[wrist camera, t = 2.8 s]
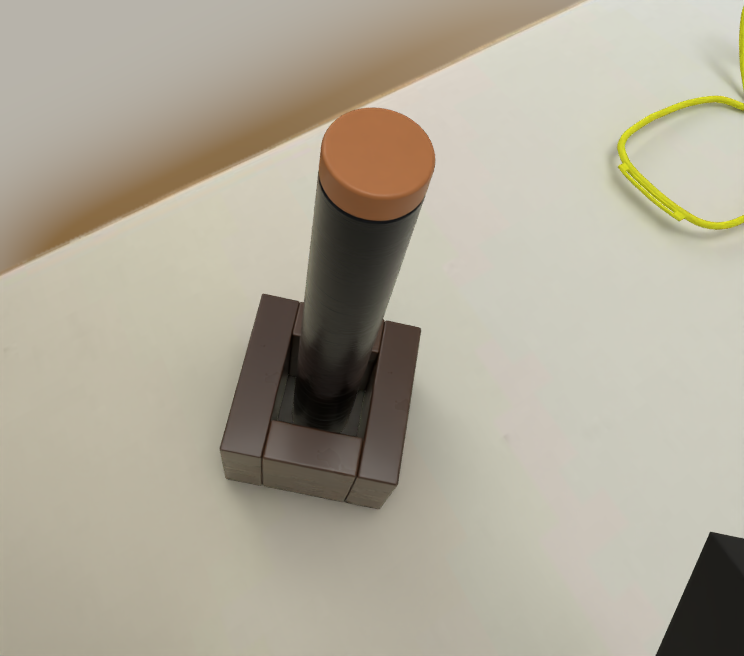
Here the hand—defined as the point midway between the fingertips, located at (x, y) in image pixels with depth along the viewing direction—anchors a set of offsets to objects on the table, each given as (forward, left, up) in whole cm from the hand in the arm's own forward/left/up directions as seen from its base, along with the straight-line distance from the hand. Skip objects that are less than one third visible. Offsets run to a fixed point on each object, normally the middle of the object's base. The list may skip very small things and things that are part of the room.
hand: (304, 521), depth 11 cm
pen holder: (0, +7, -15) cm, 16 cm away
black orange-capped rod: (0, +7, -15) cm, 16 cm away
